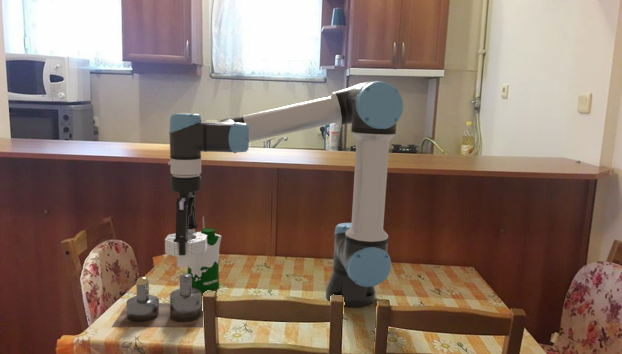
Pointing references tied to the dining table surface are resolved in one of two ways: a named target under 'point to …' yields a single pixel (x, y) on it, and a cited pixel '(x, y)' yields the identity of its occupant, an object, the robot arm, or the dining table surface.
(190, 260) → the milk carton
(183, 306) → the stand post
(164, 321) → the board
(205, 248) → the steel ring
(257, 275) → the dining table surface
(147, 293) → the hub post
